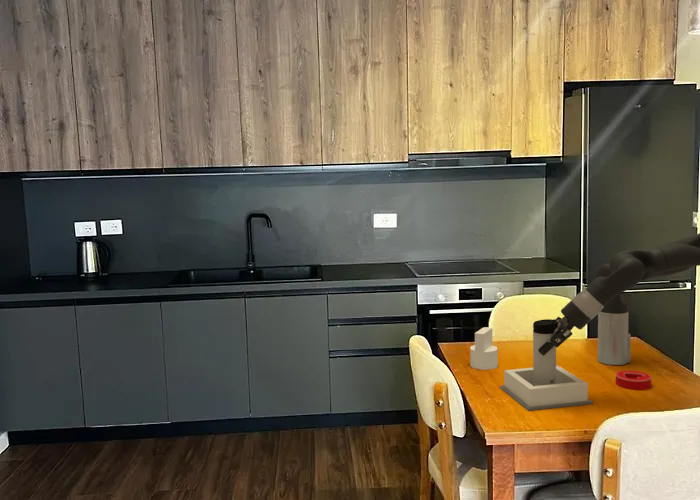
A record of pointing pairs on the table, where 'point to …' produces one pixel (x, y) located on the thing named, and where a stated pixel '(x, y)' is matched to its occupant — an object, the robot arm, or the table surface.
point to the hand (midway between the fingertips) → (539, 349)
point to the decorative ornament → (633, 380)
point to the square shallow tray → (545, 390)
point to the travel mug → (543, 363)
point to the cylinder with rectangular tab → (484, 351)
